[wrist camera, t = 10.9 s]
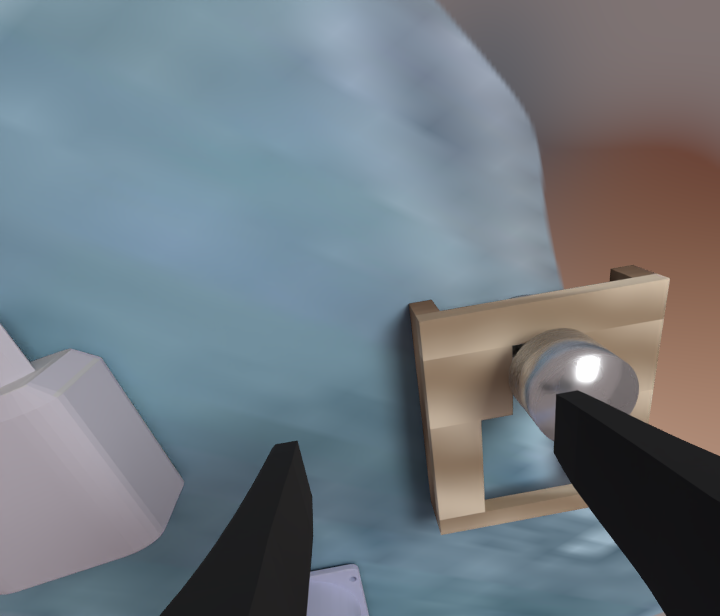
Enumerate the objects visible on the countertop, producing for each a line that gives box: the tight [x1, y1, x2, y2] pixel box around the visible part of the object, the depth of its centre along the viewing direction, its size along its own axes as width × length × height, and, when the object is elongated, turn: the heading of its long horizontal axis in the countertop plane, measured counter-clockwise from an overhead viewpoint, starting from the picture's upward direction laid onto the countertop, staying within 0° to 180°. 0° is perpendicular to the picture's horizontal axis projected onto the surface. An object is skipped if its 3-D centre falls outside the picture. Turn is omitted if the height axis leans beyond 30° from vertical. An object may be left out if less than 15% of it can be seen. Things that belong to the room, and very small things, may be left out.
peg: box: [508, 295, 639, 441], centre depth 19 cm, size 5×5×6 cm
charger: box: [0, 323, 184, 594], centre depth 19 cm, size 5×9×15 cm
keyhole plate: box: [409, 265, 670, 535], centre depth 22 cm, size 14×12×2 cm
